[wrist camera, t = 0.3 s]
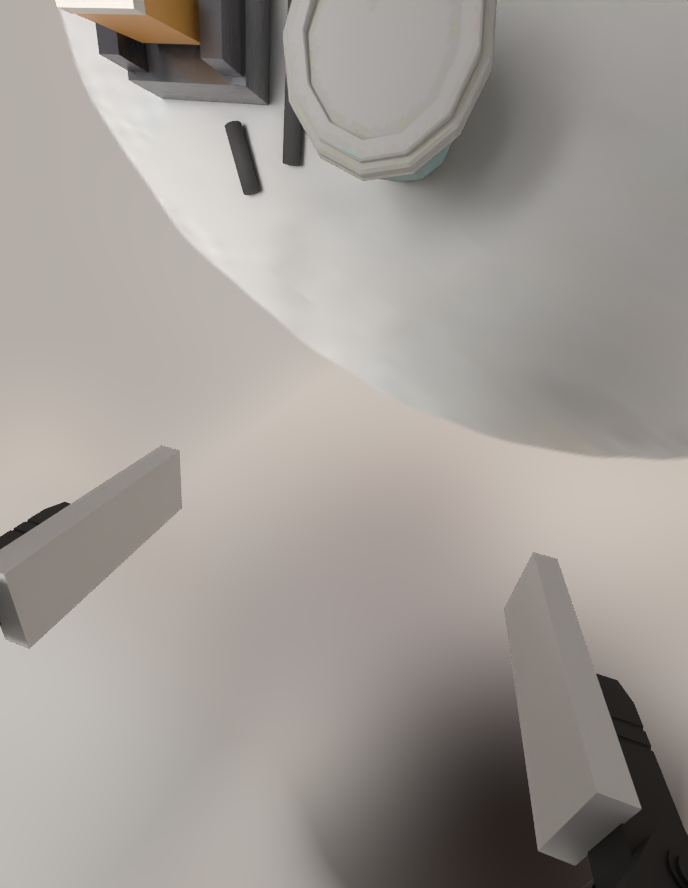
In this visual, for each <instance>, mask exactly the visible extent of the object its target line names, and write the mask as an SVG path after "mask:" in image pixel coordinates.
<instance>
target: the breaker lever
mask: <svg viewBox="0 0 688 888" xmlns="http://www.w3.org/2000/svg"><path fill="white" fill-rule="evenodd" d="M56 4H57V7H58V8H60V9H62V10H65V11H67V12H69V13H73V14H77V15H79V16H82V17H84V18H86V19H88V20H91V21H93V22H95V23H98V24H100V25H102V26H105V27H107V28H109V29H111V30H114V31H116V32H118V33H121V34H123V35H125V36H128V37H130V38H132V39H134V40H137V41H139V42H141V43H162V44H191V45H200V31H199V6H198V0H56Z"/></svg>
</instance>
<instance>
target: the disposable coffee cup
mask: <svg viewBox="0 0 688 888" xmlns="http://www.w3.org/2000/svg"><path fill="white" fill-rule="evenodd" d="M496 5H497V0H292V1H291V5H290V9H289V12H288V16H287V19H286V23H285V27H284V30H283V34H282V35H283V45H284V55H285V66H286V76H287V86H288V96H289V103H290V104H291V106H292V108H293V110H294V112H295V114H296V116H297V117H298V119H299V121H300V123H301V124H302V126H303V128H304V130H305V131H306V133H307V135H308V137H309V138H310V140H311V142H312V144H313V145H314V147H315V149H316V151H317V152H318V154H319V156H320V158H322V159H324V160H326V161H327V162H329V163H331V164H333V165H335V166H337V167H339V168H340V169H342V170H344V171H346V172H348V173H350V174H351V175H353V176H355V177H357V178H359V179H361V180H362V181H365V180H372V179H383V180H389V181H396V182H405V181H412V180H420V179H423V178H425V177H426V176H427V175H428V174H430V173H431V172H432V171H433V170H435V169H436V168H437V167H438V166H439V165H441V164H442V163H443V161H444V159H445V157H446V155H447V153H448V151H449V149H450V147H451V145H452V143H453V141H454V140H455V139H456V138H457V137H458V136H459V135H460V134H461V132H462V130H463V128H464V126H465V124H466V122H467V120H468V118H469V116H470V114H471V112H472V109H473V107H474V105H475V103H476V101H477V99H478V97H479V95H480V93H481V91H482V89H483V87H484V85H485V83H486V81H487V79H488V77H489V75H490V73H491V71H492V68H493V52H494V36H495V21H496Z"/></svg>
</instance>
